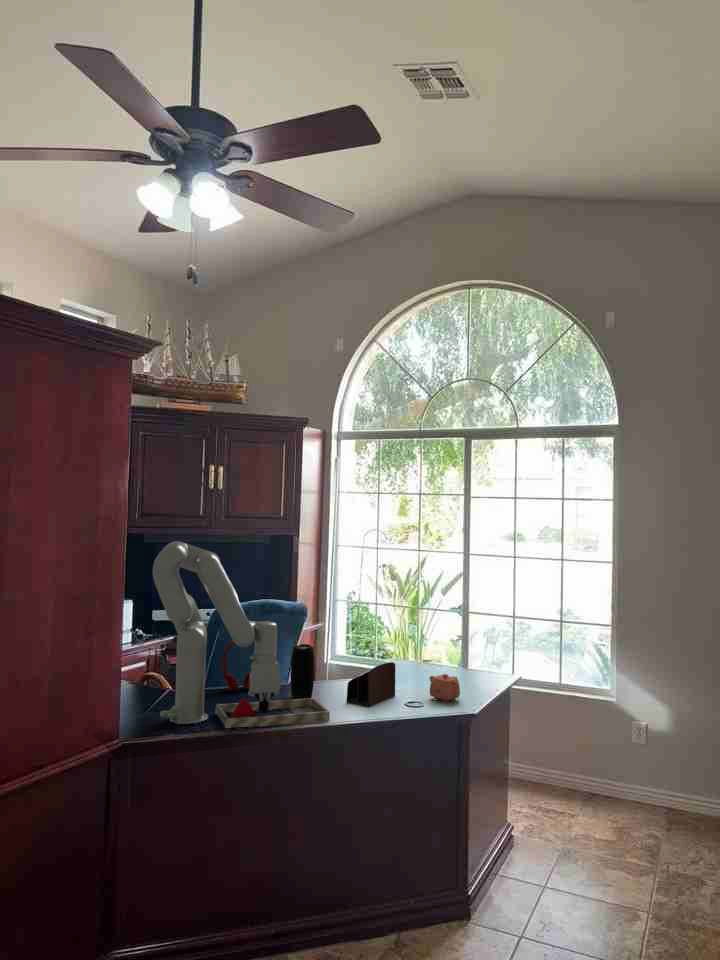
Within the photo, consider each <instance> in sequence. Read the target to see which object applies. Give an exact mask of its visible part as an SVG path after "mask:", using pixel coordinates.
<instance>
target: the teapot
mask: <svg viewBox="0 0 720 960" xmlns="http://www.w3.org/2000/svg"><path fill="white" fill-rule="evenodd" d="M429 682H430V685H429V695H430V697H433V699H436V700H435V701H439V700H442V703H444V702H448V703H449V701H452V700H455V701H456V699H458V698H459V697H460V696H461V689H460V683H459V678H458V677H457V676H454V675H453V676H449V674H448V673H443V674H441V675H436V676H434V675H430V676H429Z"/></svg>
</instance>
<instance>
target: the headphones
mask: <svg viewBox="0 0 720 960" xmlns="http://www.w3.org/2000/svg"><path fill="white" fill-rule="evenodd" d="M234 645H236V644H235V642H234V641H233V640H232V641H230V642H229V643H228V644H227V646H226V647H225V648H224V651H223V653H222V661H221V665H222V666H221V668H222V671H223V672H222V675H223V679H224V682H225V684H226V686H227V688H228V689H229V690H230V691H231V690H232V691H231V692H233V691H234V690H235V692H236V691H237V690H238V689H239V684H238V681H237V679H236V678H235V676H234V675H233V674H232V673H231V672H228V671H227V669H228V668H227V667H228V666H227V664H226V661H227V660H226V659H227V653H228V652H229V650H230V648H231V647H232V646H234ZM251 645H253V646H254V647H255V642H254V641H253V643H252V644H251ZM227 672H228V673H227ZM249 678H250V671H249V672H247V673H246V675H245V676H244V678H243V681H242V687H243V688H244V689H245V690H249ZM233 689H234V690H233Z"/></svg>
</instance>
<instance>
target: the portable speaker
mask: <svg viewBox="0 0 720 960" xmlns="http://www.w3.org/2000/svg"><path fill="white" fill-rule="evenodd" d="M292 647H293V648H292V654H291V659H290V660H291V661H290V681H289V682H290V685H289V686H290V695H291V697H292V700H294V699H307V698H313V691H314V683H315V680H314V679H315V650H314V646H312V645H311V644H307V643H304V644H303V643H302V644H298V645H293V646H292Z"/></svg>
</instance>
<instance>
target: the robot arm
mask: <svg viewBox="0 0 720 960" xmlns="http://www.w3.org/2000/svg"><path fill="white" fill-rule="evenodd" d="M180 568H182V569H184V570H188V571H191V572H193V573H196V574H197V576H198V578H199V580H200V581H201V583H202V585H203V587H204V589H205V590H206V592H207V594H208V596H209V598H210V600H211V602H212V605H213V606H214V609H216V611H217V613H218V614H219V616H220V619H221V620H222V622H223V624H224V626H225V628H226V630H227V632H228V633H229V635H230V637H231V639H232V641H234V642H235V644H234V645H236V646H238V647H241V648H247V647H249V646H251V645H253V644H252V643H253V642H254V643H255V646H254V652H253V655H249V659H250V660H252V663H251V666H250V671H249V672H250V678H249V689H248V692H247V693H248V694H247V695H249V697H254V698H256V699H257V700H258V702H259V711H258V712H260V713H261V714H267V713H268V711H267V710H268V704H269V701H271V699H272V698H273V696H277V695H280V693H281V692H280V691H281V672H280V671H281V670H280V664H279V662H278V661H277V648H278V624H277V623H276V622H274V621H267V620H265V621H253V620H249V619H248V617H247V615H246V614H245V612H244V609H243V608H242V604H241V602H240V601H239V596H238V593H237V591H236V589H235V586H233V583H232V582H231V580H230V578H229V576H228V574H227V573H226V571H225V569H224V566H223V565H222V563H221V559H220V557H219V556H218V555H217V554H216V553H214V552H213V551H210V550H206V549H205V548H204V549H203V548H200V547H198V546H194V545H191V544H189V543H185V542H183V541H177V540H176V541H171V542H169V543H168V544H167V545H165V546H164V547H163V548H162V550H160V551H159V552H158V554H157V556H156V558H155V559H154V561H153V565H152V577H153V582H154V584H155V587H156V590H157V592H158V595H159V598H160V600H161V603H162V606H163V608H164V610H165V611H164V612H165V614H166V617H167V619H168V620H169V621H171V622H172V623H173V625H174V627H175V630H176V632H177V639H176V665H175V666H176V667H175V669H176V670H175V675H176V676H175V699H174V705H172V706H171V707H172V708H170V709H169V710H160V713H159V715H160V717H161V718H166V717H167V719H168V718H169V721H170V723H172V722H174V723H177V724H176V725H179V724H189V723H197V722H202V721H205V720H207V719H208V720H209V715H208V713H205V691H206V690H205V687H206V686H205V685H206V658H207V641H208V639H207V638H208V631H207V628H206V626H205V625H206V624H205V623H204V620H203V618H202V616H201V612H200V610H199V608H198V606H197V603H196V601H195V599H194V598H193V596H192V595H190V594H189V593H187V590H186V588H185V586H184V582H183V580H182V578H181V575H180ZM263 694H264V697H263ZM208 720H207V721H208ZM174 723H173V724H174Z"/></svg>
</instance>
